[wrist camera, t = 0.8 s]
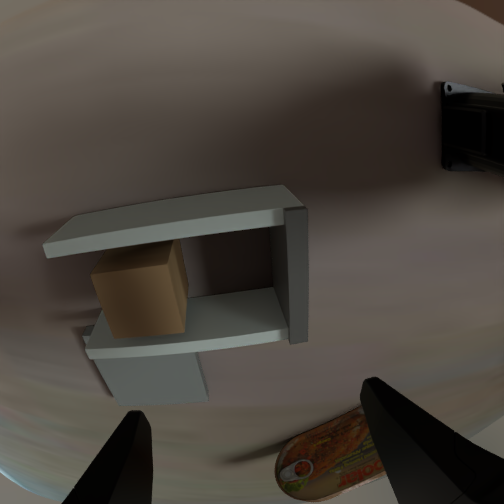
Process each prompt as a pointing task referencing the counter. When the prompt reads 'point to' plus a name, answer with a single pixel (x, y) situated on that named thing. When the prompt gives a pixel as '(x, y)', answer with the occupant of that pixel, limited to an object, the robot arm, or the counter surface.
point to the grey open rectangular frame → (214, 306)
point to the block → (143, 289)
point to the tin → (329, 459)
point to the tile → (153, 378)
